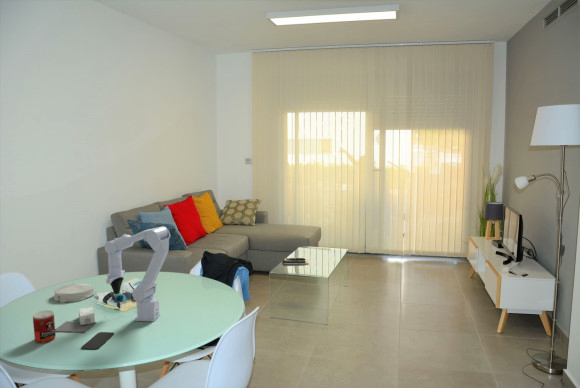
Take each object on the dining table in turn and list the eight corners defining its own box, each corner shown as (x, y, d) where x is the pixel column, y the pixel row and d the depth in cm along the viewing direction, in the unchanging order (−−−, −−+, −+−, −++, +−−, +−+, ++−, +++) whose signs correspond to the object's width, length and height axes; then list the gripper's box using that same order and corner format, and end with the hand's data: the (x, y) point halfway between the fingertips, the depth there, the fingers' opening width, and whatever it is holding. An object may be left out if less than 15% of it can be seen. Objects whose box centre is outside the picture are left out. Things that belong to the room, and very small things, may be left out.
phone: (115, 332, 193) (97, 348, 178) (115, 334, 193) (97, 350, 178) (98, 331, 194) (79, 348, 179) (99, 333, 194) (79, 350, 179)
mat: (96, 322, 204) (96, 322, 203) (84, 332, 194) (84, 331, 194) (66, 322, 205) (66, 321, 205) (53, 331, 195) (53, 330, 195)
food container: (44, 300, 233) (43, 287, 232) (76, 287, 251) (75, 275, 250) (73, 306, 225) (72, 293, 224) (103, 292, 244) (102, 280, 243)
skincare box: (80, 316, 199) (77, 307, 209) (80, 326, 199) (78, 317, 210) (95, 313, 202) (92, 305, 212) (95, 323, 202) (92, 315, 213)
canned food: (41, 345, 182) (39, 319, 181) (30, 340, 187) (28, 315, 185) (59, 337, 189) (57, 312, 187) (48, 333, 193) (47, 308, 192)
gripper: (114, 260, 218) (115, 288, 220) (99, 269, 204) (101, 298, 206) (128, 261, 218) (129, 288, 220) (114, 270, 203) (116, 299, 205)
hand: (116, 293), depth 213 cm, fingers closed
